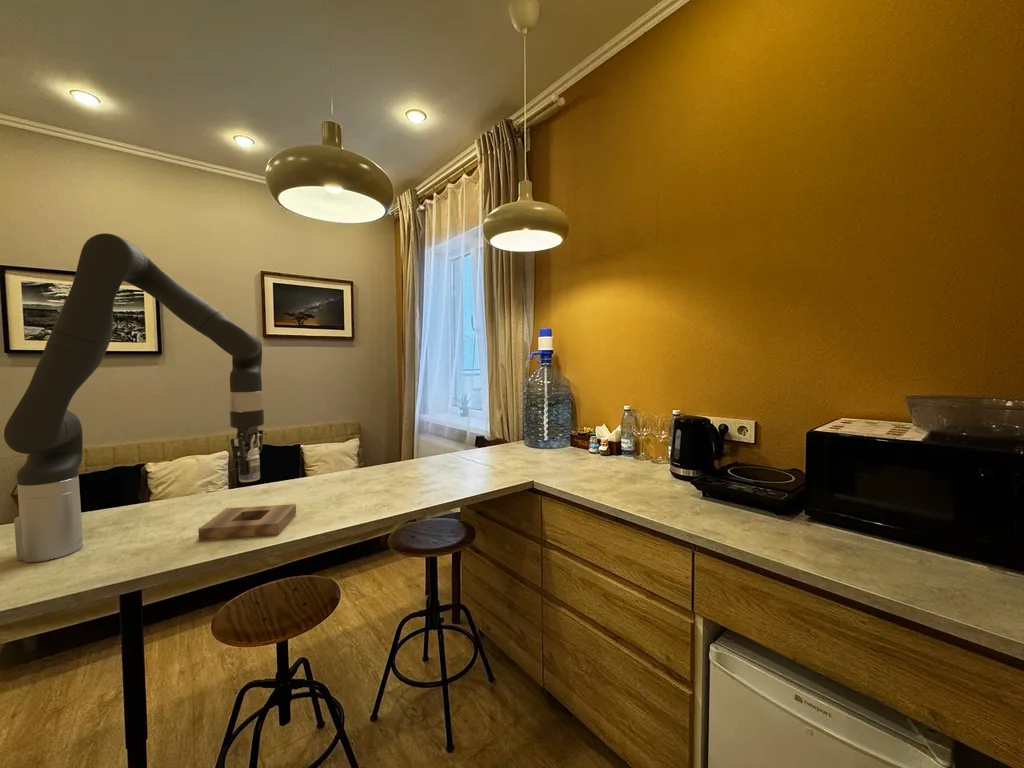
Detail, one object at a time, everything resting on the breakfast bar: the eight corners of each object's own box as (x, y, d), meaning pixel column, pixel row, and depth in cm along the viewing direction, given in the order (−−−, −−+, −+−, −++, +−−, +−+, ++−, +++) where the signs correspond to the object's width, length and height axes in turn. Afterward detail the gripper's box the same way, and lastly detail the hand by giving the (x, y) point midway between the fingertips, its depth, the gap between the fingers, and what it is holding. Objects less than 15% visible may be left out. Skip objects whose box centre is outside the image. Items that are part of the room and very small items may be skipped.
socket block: (198, 540, 100) (198, 528, 100) (226, 518, 113) (226, 508, 113) (278, 534, 103) (278, 523, 103) (296, 514, 117) (295, 504, 117)
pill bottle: (237, 479, 108) (236, 448, 107) (257, 476, 111) (256, 445, 110) (241, 483, 104) (240, 451, 104) (262, 479, 108) (261, 448, 107)
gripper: (243, 405, 113) (245, 465, 114) (216, 412, 99) (219, 480, 100) (272, 405, 114) (274, 464, 115) (250, 411, 100) (253, 479, 101)
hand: (249, 471), depth 107 cm, fingers closed on pill bottle, 4 cm apart
